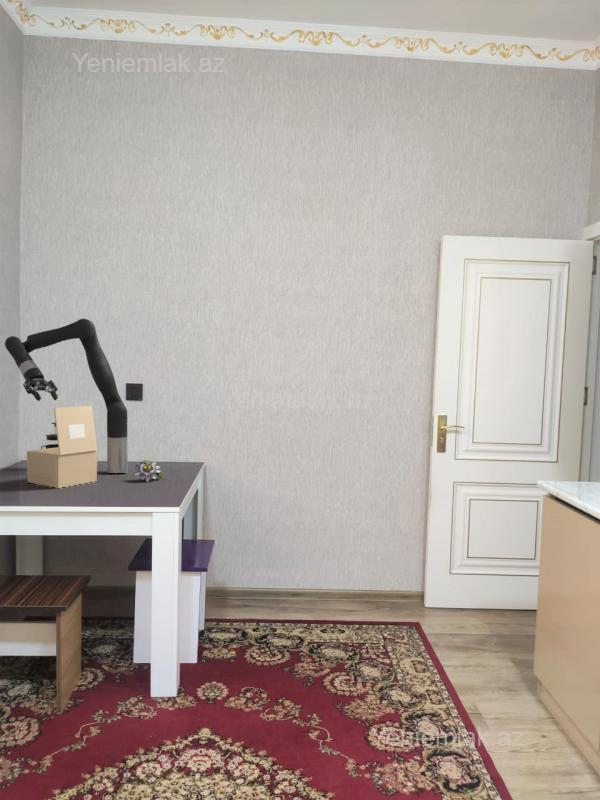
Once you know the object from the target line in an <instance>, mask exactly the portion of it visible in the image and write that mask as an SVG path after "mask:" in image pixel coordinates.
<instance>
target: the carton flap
mask: <svg viewBox="0 0 600 800" xmlns="http://www.w3.org/2000/svg"><path fill="white" fill-rule="evenodd" d="M53 413H54V420H55V422H54V423H56V434H57V440H56V441H57V444H58V448H59V455H63V454H71V453H79V452H87V451H95V450H97V451H98V448H97V447H98V446H97V439H96V437H97V436H96V431H95V429H96V428H95V422H94V413H93V406H92V405H84V406H83V405H79V406H63V407H62V406H61V407H53Z"/></svg>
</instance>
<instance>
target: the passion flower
mask: <svg viewBox="0 0 600 800" xmlns="http://www.w3.org/2000/svg"><path fill="white" fill-rule="evenodd" d="M134 468H135V470H137V471H136V472H135V473H134V474H133V475H134V476H140V480H141V481H145V482H146V481H148V482H149V481H150V479H153V480H156V475H157V477H158V478H159V480H160V479H161V480H162V479H163V475H162V470H161V469H160V466H159V465H157V460H156V461H150V460H149V459H148V458H145V459H144V460H143V461H141V462H137V463H135V467H134Z"/></svg>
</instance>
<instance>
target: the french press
mask: <svg viewBox="0 0 600 800" xmlns="http://www.w3.org/2000/svg"><path fill="white" fill-rule="evenodd" d="M50 424H51V425H54V433H51V434H50V433H49V434H45V437H46V441H52V442H53V441H54V443H51V444H45V445H41V447H40V449H43V448H45V449H48V448H57V447H58V443H57V441H58V440H57V431H56V422H51V423H50Z"/></svg>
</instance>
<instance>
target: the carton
mask: <svg viewBox="0 0 600 800" xmlns="http://www.w3.org/2000/svg"><path fill="white" fill-rule="evenodd" d="M97 474H98V449H97V450H95V451H87V452H79V453H71V454H63V455H59V448H58V447H57V448H48V449H46V448H42V449H41V448H40V449H34V450H33V449H32V450H27V451H26V475H27V483H28V482H32V483H37V484H41V485H45V486H50V487H49V488H51V487H55V488H54V489H57V488H60V489H63V488H62V487H66V488H70V487H69V486H71V487H75V486H74V485H77V486H80V485H79V484H82V485H85V484H84V483H88V484H90V483H89V482H93V483H96V482H95V481H98V480H97V479H98V478H97V477H98V476H97ZM45 486H44V487H45Z"/></svg>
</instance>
